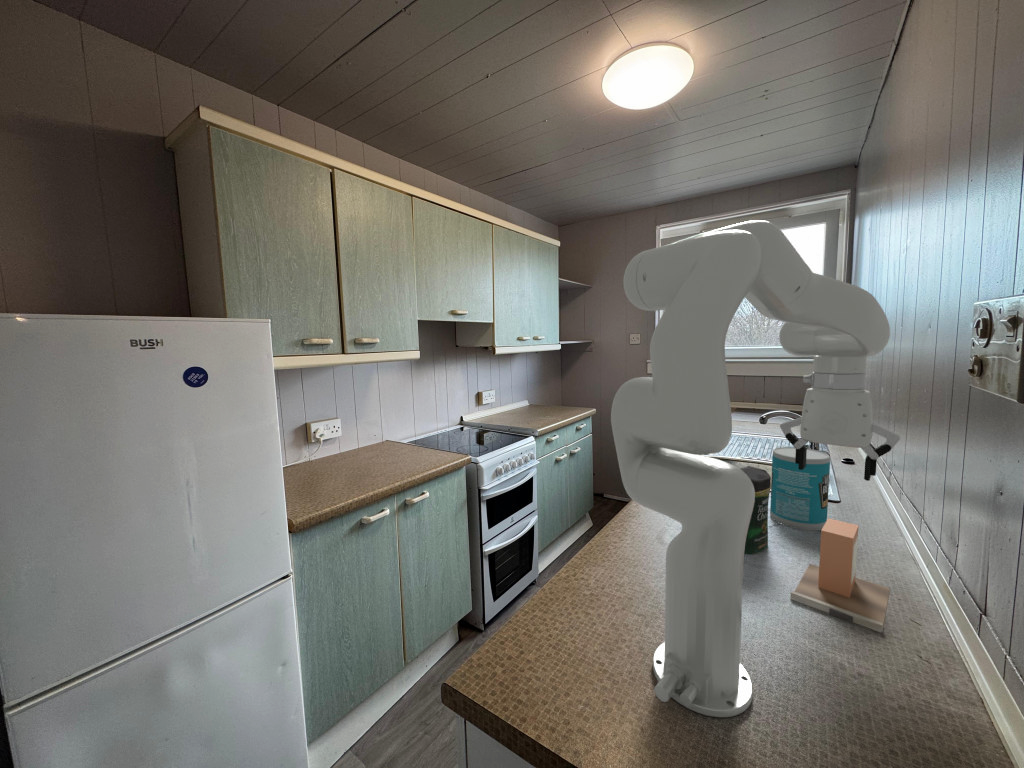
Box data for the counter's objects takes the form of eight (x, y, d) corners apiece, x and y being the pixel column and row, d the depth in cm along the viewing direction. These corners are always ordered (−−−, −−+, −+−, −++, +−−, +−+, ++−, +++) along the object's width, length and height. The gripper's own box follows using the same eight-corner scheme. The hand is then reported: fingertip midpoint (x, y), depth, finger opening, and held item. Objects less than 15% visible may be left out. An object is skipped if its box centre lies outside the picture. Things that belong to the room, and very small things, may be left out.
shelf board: (881, 640, 63) (882, 626, 63) (789, 605, 71) (790, 593, 71) (889, 594, 74) (890, 582, 74) (809, 569, 83) (810, 558, 82)
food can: (761, 510, 111) (763, 446, 110) (808, 511, 110) (811, 446, 108) (785, 530, 100) (788, 459, 98) (838, 531, 98) (842, 459, 96)
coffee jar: (751, 563, 85) (754, 478, 83) (715, 547, 92) (717, 468, 90) (774, 550, 90) (777, 469, 89) (739, 536, 97) (741, 461, 95)
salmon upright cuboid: (855, 581, 76) (859, 525, 75) (850, 598, 71) (854, 538, 70) (825, 571, 79) (828, 518, 78) (818, 587, 75) (821, 530, 74)
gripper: (777, 382, 77) (774, 468, 79) (903, 387, 65) (896, 489, 67) (786, 378, 83) (783, 460, 84) (904, 382, 70) (897, 477, 72)
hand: (833, 473), depth 76 cm, fingers open, 9 cm apart
